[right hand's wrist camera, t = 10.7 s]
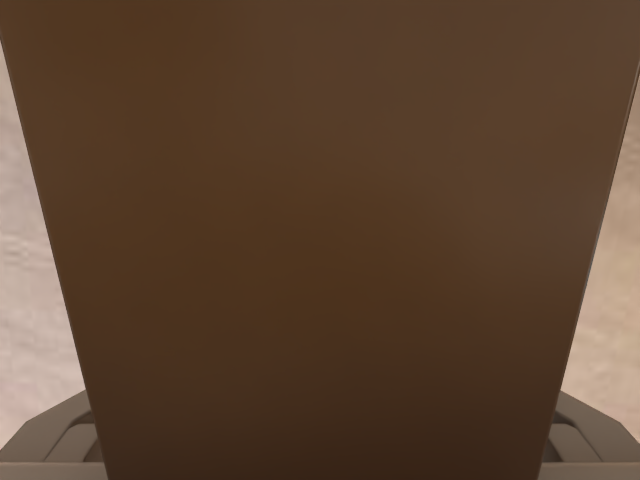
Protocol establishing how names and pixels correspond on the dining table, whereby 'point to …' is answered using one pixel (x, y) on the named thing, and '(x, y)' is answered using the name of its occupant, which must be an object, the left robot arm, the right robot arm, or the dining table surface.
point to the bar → (323, 223)
